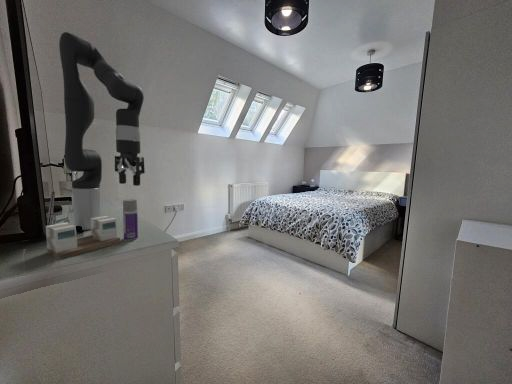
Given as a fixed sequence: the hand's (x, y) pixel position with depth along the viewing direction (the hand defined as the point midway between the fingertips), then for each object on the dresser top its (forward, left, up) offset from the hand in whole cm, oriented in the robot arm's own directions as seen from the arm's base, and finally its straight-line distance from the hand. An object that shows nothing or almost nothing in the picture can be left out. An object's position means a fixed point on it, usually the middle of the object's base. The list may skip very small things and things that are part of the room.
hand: (129, 184), depth 79 cm
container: (0, 0, -21) cm, 21 cm away
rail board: (-4, -13, -21) cm, 25 cm away
